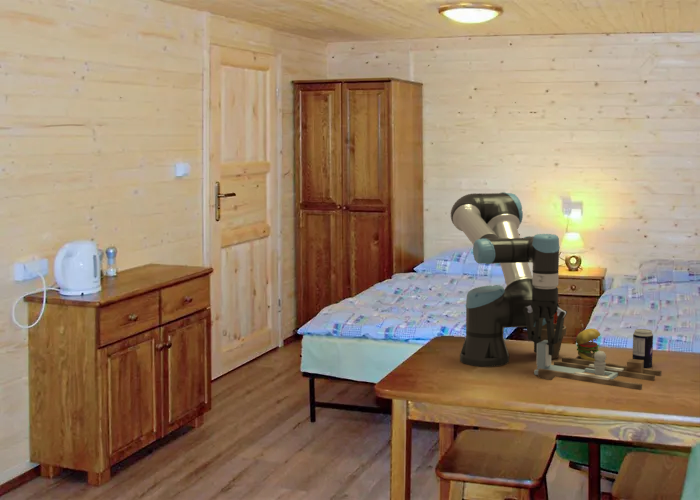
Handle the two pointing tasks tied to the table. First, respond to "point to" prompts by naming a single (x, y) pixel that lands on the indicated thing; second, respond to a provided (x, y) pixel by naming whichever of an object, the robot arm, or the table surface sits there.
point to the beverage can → (643, 346)
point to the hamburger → (587, 344)
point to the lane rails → (582, 364)
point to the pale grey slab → (560, 368)
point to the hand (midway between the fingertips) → (543, 364)
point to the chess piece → (600, 363)
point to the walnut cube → (635, 365)
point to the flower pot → (556, 345)
